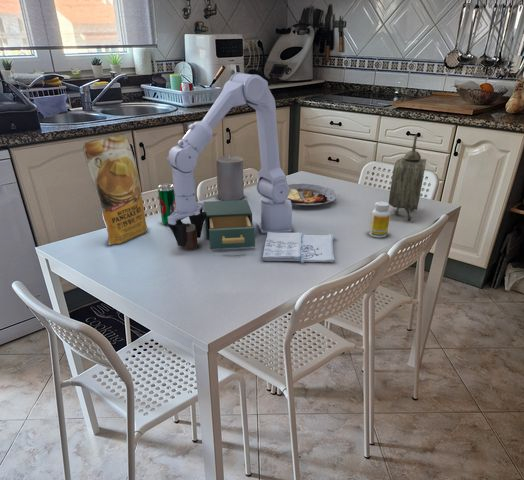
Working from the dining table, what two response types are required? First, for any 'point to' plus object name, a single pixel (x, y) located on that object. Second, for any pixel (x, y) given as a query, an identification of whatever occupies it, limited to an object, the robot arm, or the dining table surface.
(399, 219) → the dining table surface
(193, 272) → the dining table surface
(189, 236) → the pepper mill
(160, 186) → the soda can
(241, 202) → the cabinet
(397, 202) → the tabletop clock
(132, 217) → the pancake mix bag
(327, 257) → the open sketchbook
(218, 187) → the pillar candle
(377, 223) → the supplement bottle
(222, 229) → the drawer
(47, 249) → the dining table surface
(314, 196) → the food plate
